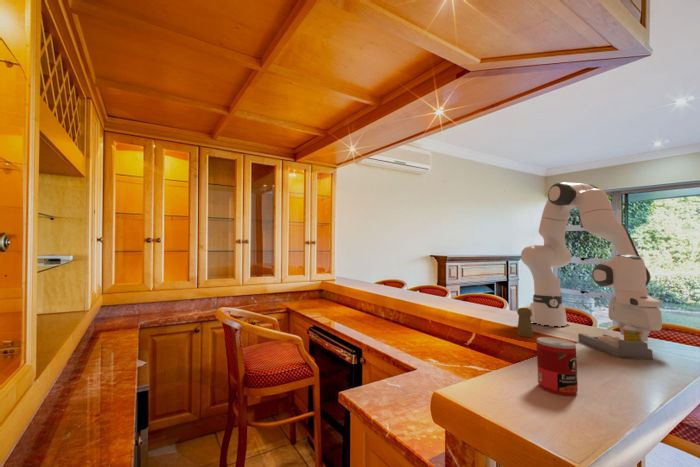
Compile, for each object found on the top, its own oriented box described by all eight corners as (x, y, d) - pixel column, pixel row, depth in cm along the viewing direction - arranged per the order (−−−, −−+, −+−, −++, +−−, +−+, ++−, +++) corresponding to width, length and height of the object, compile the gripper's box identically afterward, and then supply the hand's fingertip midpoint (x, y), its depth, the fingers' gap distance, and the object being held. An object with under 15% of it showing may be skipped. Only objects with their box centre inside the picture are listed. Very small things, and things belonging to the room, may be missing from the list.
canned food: (564, 398, 67) (562, 346, 68) (530, 385, 74) (528, 338, 75) (586, 393, 70) (583, 343, 71) (551, 380, 77) (549, 336, 78)
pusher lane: (578, 341, 119) (578, 327, 119) (606, 342, 117) (606, 329, 118) (617, 357, 98) (617, 341, 98) (652, 359, 97) (651, 343, 97)
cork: (514, 335, 127) (514, 308, 128) (519, 332, 131) (518, 306, 132) (531, 337, 123) (530, 309, 124) (535, 335, 127) (534, 308, 128)
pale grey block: (597, 345, 110) (597, 335, 110) (618, 346, 109) (617, 336, 110) (604, 347, 107) (603, 338, 107) (625, 348, 106) (624, 339, 106)
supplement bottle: (627, 349, 109) (625, 321, 110) (622, 345, 113) (620, 318, 114) (647, 351, 106) (645, 322, 107) (641, 347, 111) (639, 320, 112)
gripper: (602, 295, 122) (604, 331, 121) (643, 302, 102) (646, 344, 101) (620, 296, 121) (622, 331, 120) (665, 303, 101) (668, 346, 100)
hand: (633, 338), depth 110 cm, fingers open, 7 cm apart
